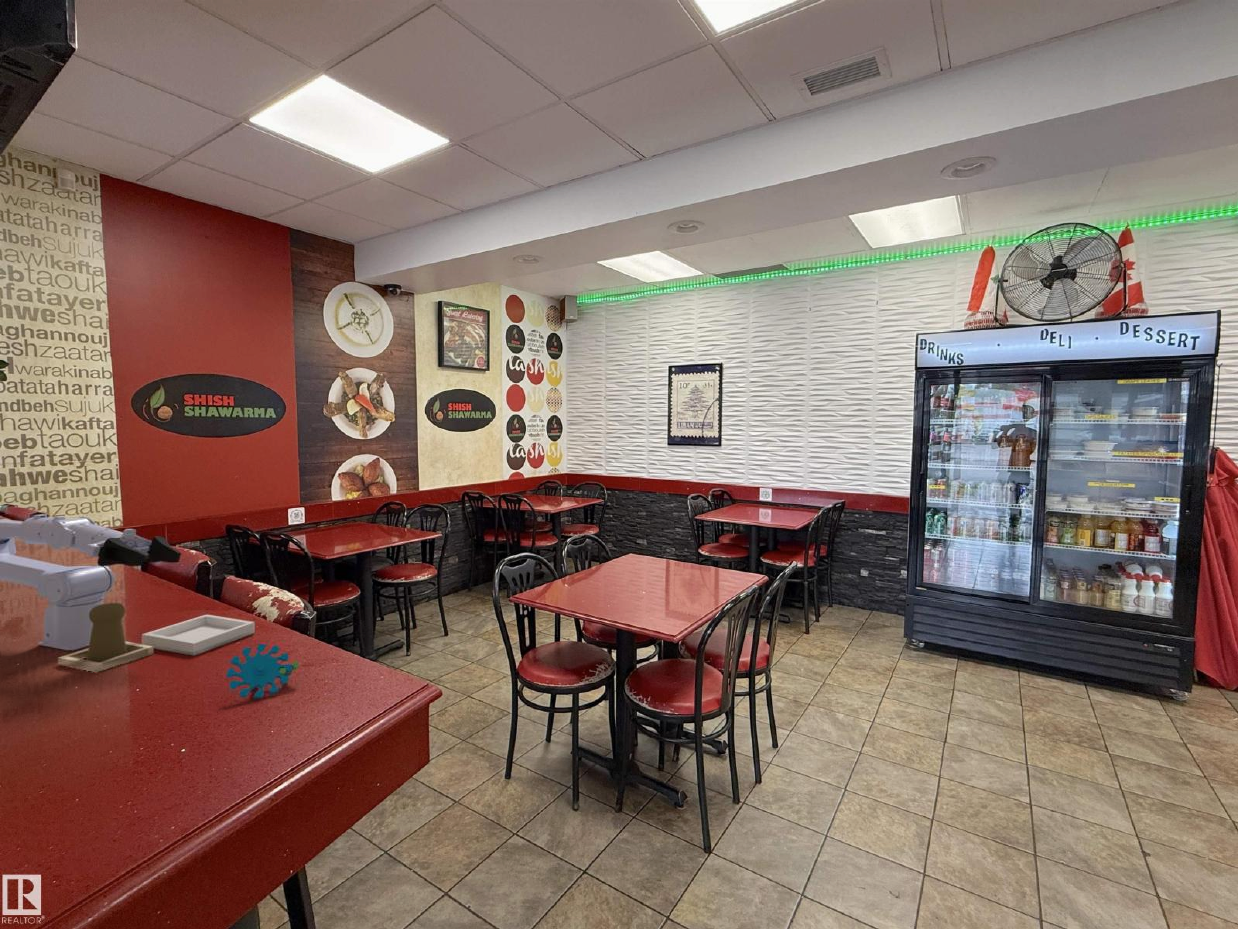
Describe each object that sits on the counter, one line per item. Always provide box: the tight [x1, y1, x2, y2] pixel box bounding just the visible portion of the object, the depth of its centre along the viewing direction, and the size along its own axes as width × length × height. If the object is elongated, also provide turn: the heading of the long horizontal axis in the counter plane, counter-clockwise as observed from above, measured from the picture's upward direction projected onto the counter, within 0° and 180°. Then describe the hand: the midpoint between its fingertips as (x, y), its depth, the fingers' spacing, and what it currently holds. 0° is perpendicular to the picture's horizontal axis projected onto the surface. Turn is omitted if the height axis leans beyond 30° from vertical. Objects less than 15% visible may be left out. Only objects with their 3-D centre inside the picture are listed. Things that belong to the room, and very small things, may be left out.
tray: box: [141, 614, 256, 657], centre depth 121 cm, size 14×14×2 cm
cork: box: [86, 602, 128, 663], centre depth 109 cm, size 6×6×11 cm
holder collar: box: [57, 640, 155, 674], centre depth 109 cm, size 10×10×2 cm
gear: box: [225, 643, 300, 699], centre depth 101 cm, size 11×6×10 cm
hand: (161, 558), depth 112 cm, fingers open, 7 cm apart
